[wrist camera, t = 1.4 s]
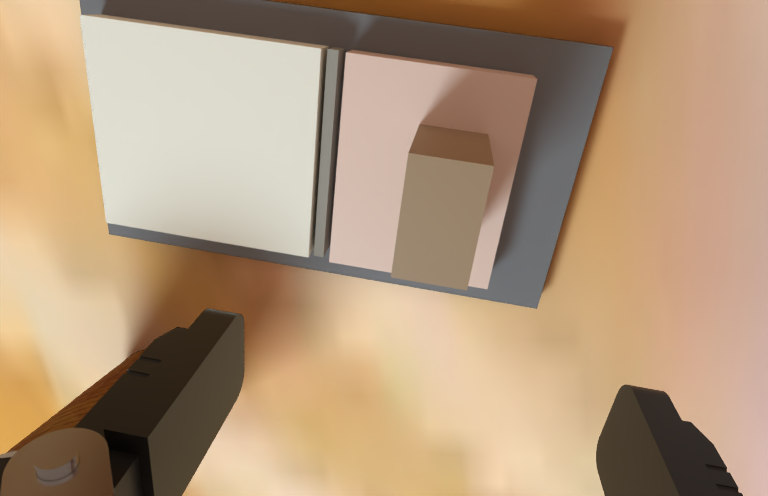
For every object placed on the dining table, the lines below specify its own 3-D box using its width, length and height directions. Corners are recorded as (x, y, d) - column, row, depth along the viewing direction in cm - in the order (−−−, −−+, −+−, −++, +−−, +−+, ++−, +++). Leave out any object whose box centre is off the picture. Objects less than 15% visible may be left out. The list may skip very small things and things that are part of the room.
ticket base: (607, 46, 22) (623, 50, 20) (534, 299, 28) (540, 324, 26) (90, -24, 24) (52, -27, 22) (119, 227, 30) (91, 245, 28)
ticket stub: (532, 75, 22) (557, 98, 17) (486, 275, 27) (492, 349, 21) (352, 49, 23) (314, 63, 17) (335, 249, 27) (300, 315, 21)
